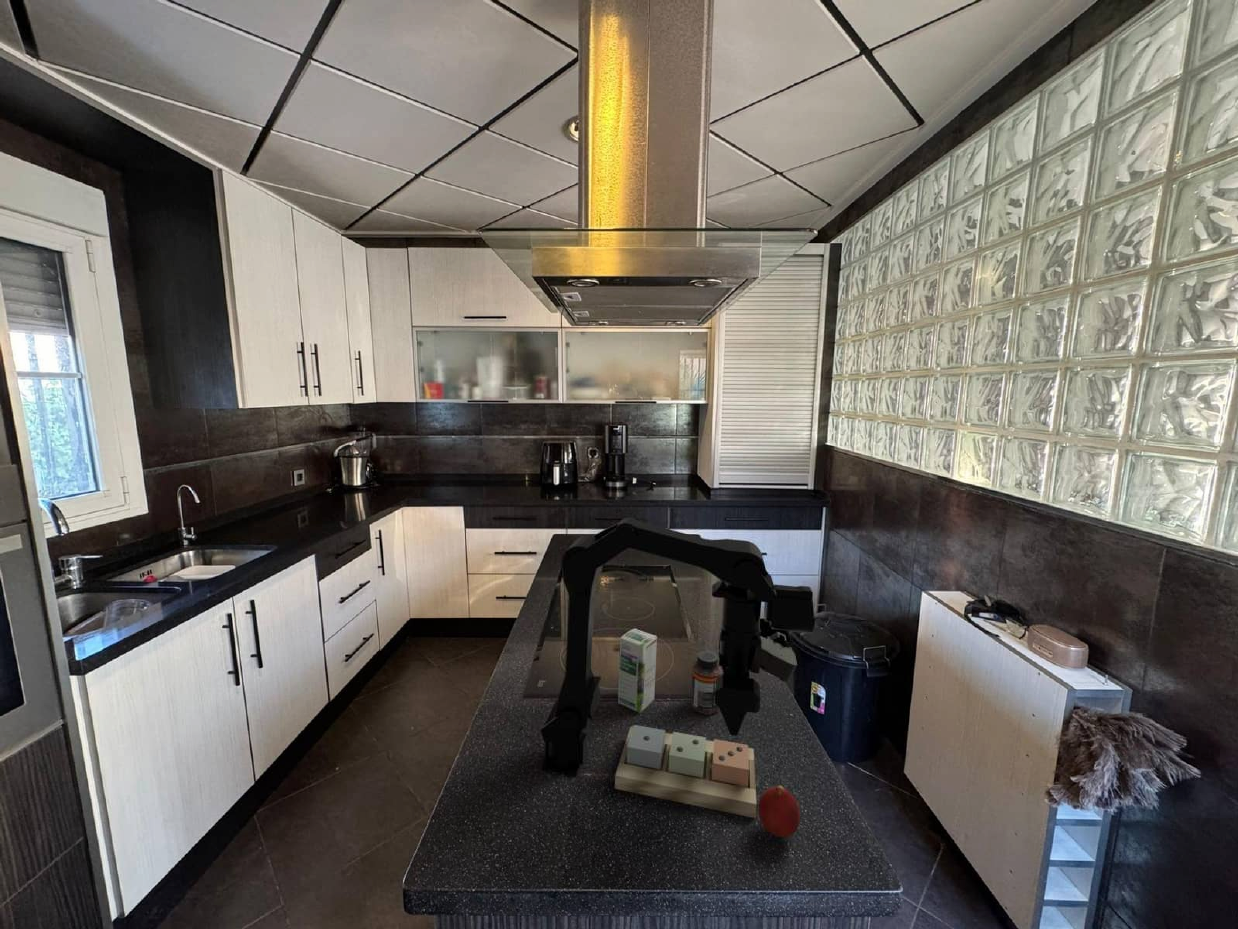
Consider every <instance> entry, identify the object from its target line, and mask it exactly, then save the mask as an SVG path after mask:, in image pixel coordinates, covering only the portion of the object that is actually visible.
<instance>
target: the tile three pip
mask: <svg viewBox="0 0 1238 929" xmlns="http://www.w3.org/2000/svg"><path fill="white" fill-rule="evenodd" d="M713 741H714V751H713V768H712V780H716V781H721V782H726V783H731V784H736V785H741V786H746V787H748V776H749V758H748V748H749V745H748V744H743V743H737V742H731V741H727V740H722V739H715V738H714V739H713Z"/></svg>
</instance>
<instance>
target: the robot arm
mask: <svg viewBox="0 0 1238 929" xmlns="http://www.w3.org/2000/svg"><path fill="white" fill-rule="evenodd" d="M627 549H632V550H635V551H639V552H643V553H647V554H651V555H655V556H657V557H661V558H664V559H665V558H666V559H669V560H672V561H675V562H679V563H683V564H686V565H689V566H694V567H698V568H701V569H702V570H705V571H706V572H708V573H710V574H711V575H713V576H714V577H716V578H717V579H719V580H718V581H717V582H715V583H713V584H712V585H711V596H712V597H713V598H717V599H720V598H721V599H722V611H721V612H722V614H721V625H720V626H721V628H720V632H719V638H718V664H719V666H720V667H721V669H722V675H721V676H719V677H718V678H716V690H715V704H716V705H717V706H718V707H719V712H720V714H721V716H722V718H723V721H724V722H725V725H726V726H725V727H726V728H727V730H728V732H729V734H730V735H731V736H734V737H735V736H738V735H739V732H740V730H741V727H742V725H743V722H744V720H745V718H746V716H747V715H746V714H747V713H752V714H756V713H759V712H761V711H760V709H761V687H760V684H759V683H758V682H757V681H756V680H755V679H754V678H752V677H750V673H752V674H760V671H761V670H762V671H764V672H766V673H768V674H771V676H772V675H773V676H775V677H776V678H778V679H779V680H780V681H781V682H784V683H787V682H789V680H790V678H791V677H792V675H793V674H794V673H793V672H794V671H795V669H796V668H797V666H798V663H797V658H796V653H795V652H794V651H793V649H792V646H791V647H790V646H788V645H787V644H788V643H787V637H786V634H783V633H781V632H779V631H787V632H794V633H803V634H813V632H814V628H815V624H816V617H815V611H814V601H813V600H814V599H813V596H814V592H813V589H812V588H811V586H807V585H798V586H794V585H786V584H785V585H783V584H774V581H773V578H772V575H771V574H769V572H768V571H767V568H766V564H765V561H764V557H763V555H762V554H763V553H762V551H761V550H760V548H759V547H758V546H757V545H756V544H755V543H754V542H751V541H749V540H742V539H732V538H730V539H729V538H720V539H719V538H718V539H710V538H703V537H698V536H696V535H691V534H688V533H684V532H682V531H681V532H680V531H677V530H673V529H669V528H667V527H666V528H665V527H663V526H659V525H654V524H650V523H648V522H643V521H641V520H638V519H636V518H634V517H626V518H625V517H624V518H623V519H621V520H620V521H619V522H617V523H615V524H613V525H611V526H609V527H607V528H605V529H603V530H601V531H599V532H598V533H596V534H594V535H589V534H588V535H582V536H580V537H578V538H577V539H576V540H575V541H574V542H572V544H571V545H570V546H569V548H568V549H567V550H566V551H564V553H563V555H562V557H561V561H560V562H561V563H560V564H561V565H560V566H561V572H562V580H563V585H564V587H565V589H566V593H567V594H568V595H567V596H568V610H567V629H566V630H567V631H566V651H565V653H566V654H565V672H564V677H563V681H562V684H561V687H560V690H559V693H558V697H557V698H556V699H555V701H554V703H553V706H552V708H551V710H550V712H549V713H548V715H547V717H546V718H545V721H544V723H543V725H542V727H541V729H540V733H541V736H542V739H543V742H544V757H543V760H542V762H541V764H540V768H541V769H543V770H547V771H551V772H556V773H562V774H566V775H572V776H576V775H578V774H579V771H580V768H581V766H582V765H584V763H585V760H586V758H587V756H588V734H587V732H585V731H586V730H585V729H586V727H587V726H588V724H589V721H592V720H593V719H594V716H595V713H596V711H597V707H598V704H599V702H600V699H601V696H602V695H601V692H600V684H601V681H602V676H596V675H595V676H594V674H593V671H592V652H593V635H594V634H593V633H594V618H595V616H594V614H595V602H596V601H595V600H596V590H597V587H598V584H599V580H600V577H601V574H602V570H603V566H604V565H605V564H606V563H608V562H609V561H611V560H612V559H614V558H616V557H617V556H618V555H619V554H622V552H624V551H626V550H627ZM762 603H764V604H763V606H764V607H763V615H764V616H763V618H764V621H765V622H767V623H769V627H770V628H771V629H772V630H778V631H776V632H774V633H773V634H771V635H769V636H766V637H763V636H762V635H761V632H762V631H761V628H760V624H761V612H762Z"/></svg>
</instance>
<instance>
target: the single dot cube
mask: <svg viewBox="0 0 1238 929" xmlns="http://www.w3.org/2000/svg"><path fill="white" fill-rule="evenodd" d="M632 727H633V729H632V733H631V736H630V739H629V743H628V746H627V763H629V764H635V765H640V766H645V767H650V768H655V769H660V767H661V762H662V757H663V752H664V747H665V733H666V730H664V729H659V728H654V727H647V726H644V725H643V726H642V725H636V724H633V725H632Z"/></svg>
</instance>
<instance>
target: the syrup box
mask: <svg viewBox="0 0 1238 929" xmlns="http://www.w3.org/2000/svg"><path fill="white" fill-rule="evenodd" d="M657 639H658V637H657V635H655V634H654V635H653V634H651V633H649V632H646V631H642V630H639V629H638V628H632V629H631V630H629V631H627V632H626V633H625V634H623V635H622V636H621V637H620V639H619V661H618V662H619V667H618V695H617V703H618V704H619V705H623V706H625V707H626V708H628V709H631V710H633V711H635V712H637V713H639V714H641V713H642V712H643V711H644V710H645V709H646V708H647V707H648V706H649V705H650V704H651V703H652V702H653V701H654V700H655V688H656V687H655V686H656V684H655V683H656V667H657V666H656V664H657V661H656V660H657V642H658V640H657Z"/></svg>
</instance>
